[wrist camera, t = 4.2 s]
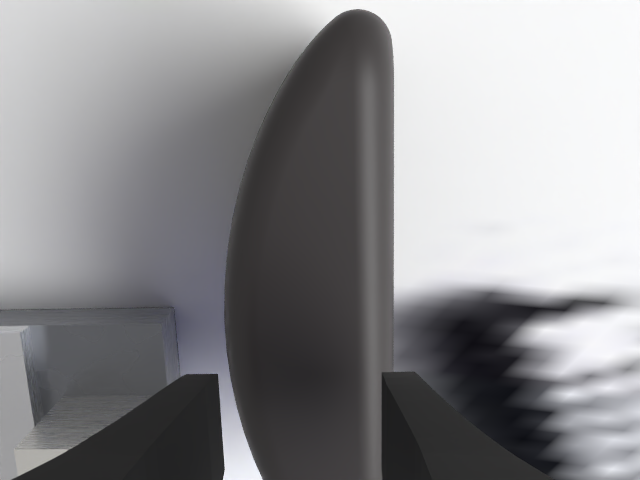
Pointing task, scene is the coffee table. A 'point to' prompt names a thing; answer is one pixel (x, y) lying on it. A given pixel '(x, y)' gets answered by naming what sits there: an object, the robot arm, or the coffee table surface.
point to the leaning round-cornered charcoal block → (317, 262)
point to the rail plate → (76, 376)
